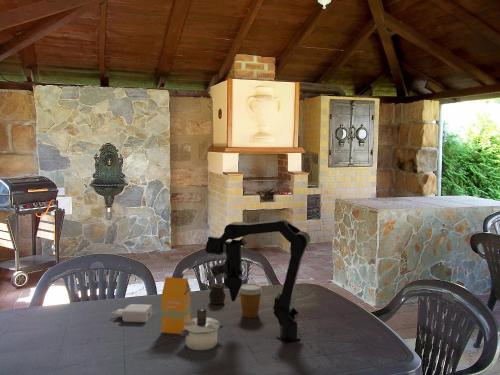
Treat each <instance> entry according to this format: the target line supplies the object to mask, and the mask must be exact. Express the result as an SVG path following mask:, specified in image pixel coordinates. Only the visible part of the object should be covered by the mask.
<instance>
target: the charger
mask: <svg viewBox="0 0 500 375" xmlns="http://www.w3.org/2000/svg"><path fill="white" fill-rule="evenodd" d="M111 314H114V315H115V317H122V321H123V322H124V323H147V322H148V321H149V320H150V318H151V317H152V316H153V304H136V303H134V304H133V303H132V304H128V305H127V306H126V307H125V308H118V309H117V310H113V312H111Z"/></svg>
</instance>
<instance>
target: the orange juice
mask: <svg viewBox="0 0 500 375" xmlns="http://www.w3.org/2000/svg"><path fill="white" fill-rule="evenodd" d="M191 291H192V290H191V287H190V284H189V281H188V278H186V277H185V278H182V277H169V276H167V277H166V276H165V277H164V283H163V287H162V292H161V333H163V334H165V333H166V334H175V335H176V334H177V335H180V334H179V331H184V330H185V329H184V323H185V322H186V321H187V320H190V319H192V318H191V316H192V315H191V312H192V308H191V307H192V305H191V304H192V303H191Z"/></svg>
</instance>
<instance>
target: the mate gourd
mask: <svg viewBox="0 0 500 375" xmlns="http://www.w3.org/2000/svg"><path fill="white" fill-rule="evenodd" d="M224 286H225V285H224V283H212V284H211V286H210V291H209V294H208V298H209V302H210V303H211V304H213V305H222V304H223V303H224V301H225V299H226V293H225V290H224Z"/></svg>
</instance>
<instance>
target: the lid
mask: <svg viewBox="0 0 500 375" xmlns="http://www.w3.org/2000/svg"><path fill="white" fill-rule="evenodd" d="M219 323H220V321H219V320H217V319H216V318H212V317H207V309H206V308H201V307H200V308H197V310H196V317H194V318H191V319H190V320H187V321H186V322H185V323H184V329H185V330H186V331H187V332H190V333H195V334H205V333H211V332H214V331H216V330H217V331H218V328H219ZM219 329H220V328H219Z"/></svg>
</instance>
